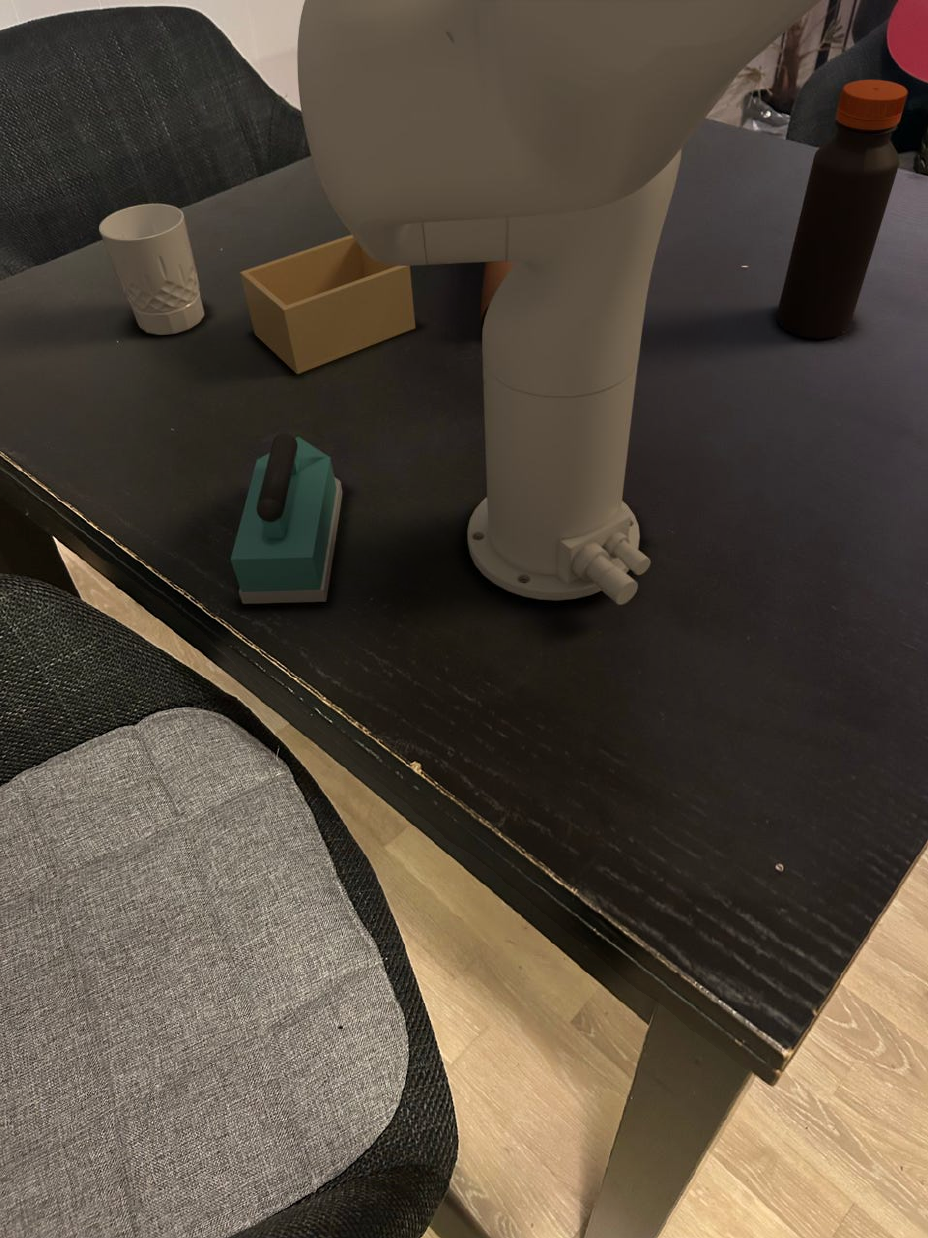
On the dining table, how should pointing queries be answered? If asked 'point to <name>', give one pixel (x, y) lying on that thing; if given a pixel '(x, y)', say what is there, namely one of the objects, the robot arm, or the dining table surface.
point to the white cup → (155, 266)
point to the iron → (288, 526)
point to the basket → (327, 303)
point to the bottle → (842, 211)
